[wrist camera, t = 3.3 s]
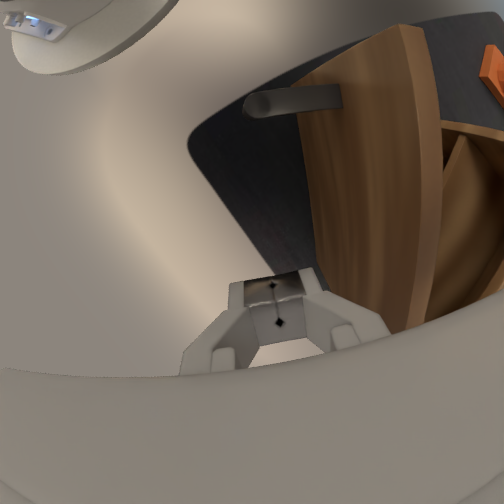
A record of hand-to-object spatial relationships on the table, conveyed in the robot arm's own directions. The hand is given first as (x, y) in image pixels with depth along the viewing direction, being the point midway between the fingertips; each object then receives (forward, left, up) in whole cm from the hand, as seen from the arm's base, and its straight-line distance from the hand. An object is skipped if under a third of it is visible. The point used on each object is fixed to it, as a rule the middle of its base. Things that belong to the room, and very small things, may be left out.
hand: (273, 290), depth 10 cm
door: (+4, +1, -22) cm, 22 cm away
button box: (+29, +36, -22) cm, 51 cm away
